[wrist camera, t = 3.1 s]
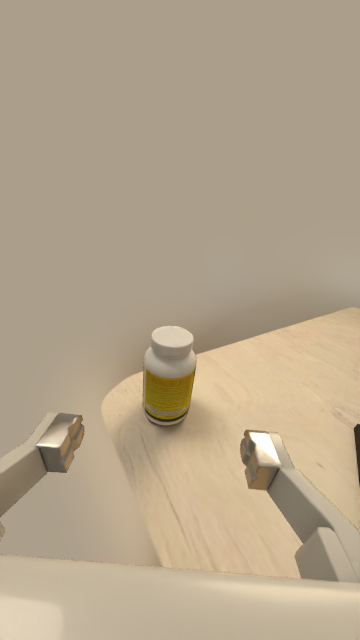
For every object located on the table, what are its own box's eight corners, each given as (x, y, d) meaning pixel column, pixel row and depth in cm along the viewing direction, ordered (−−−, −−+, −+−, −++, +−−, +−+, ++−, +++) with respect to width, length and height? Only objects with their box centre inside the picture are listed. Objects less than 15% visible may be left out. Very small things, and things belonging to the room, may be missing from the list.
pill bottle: (197, 417, 25) (212, 345, 20) (152, 435, 22) (156, 357, 18) (176, 384, 30) (184, 320, 25) (137, 396, 27) (137, 326, 22)
